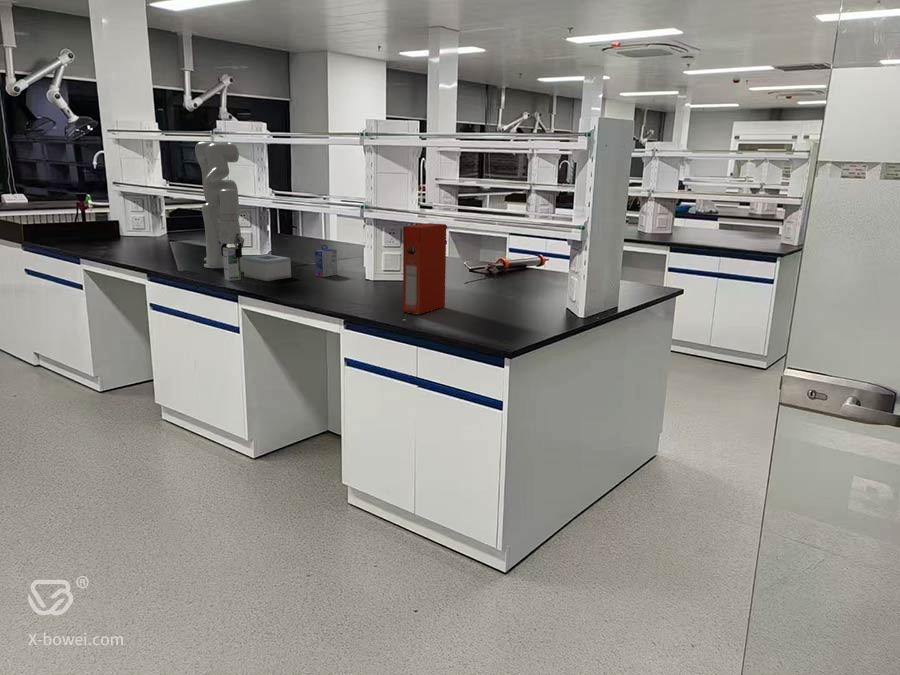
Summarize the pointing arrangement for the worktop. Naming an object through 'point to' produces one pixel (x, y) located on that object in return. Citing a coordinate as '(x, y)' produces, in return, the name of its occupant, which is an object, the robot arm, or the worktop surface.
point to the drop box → (267, 267)
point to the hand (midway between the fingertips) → (231, 256)
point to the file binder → (424, 267)
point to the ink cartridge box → (326, 262)
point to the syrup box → (231, 264)
